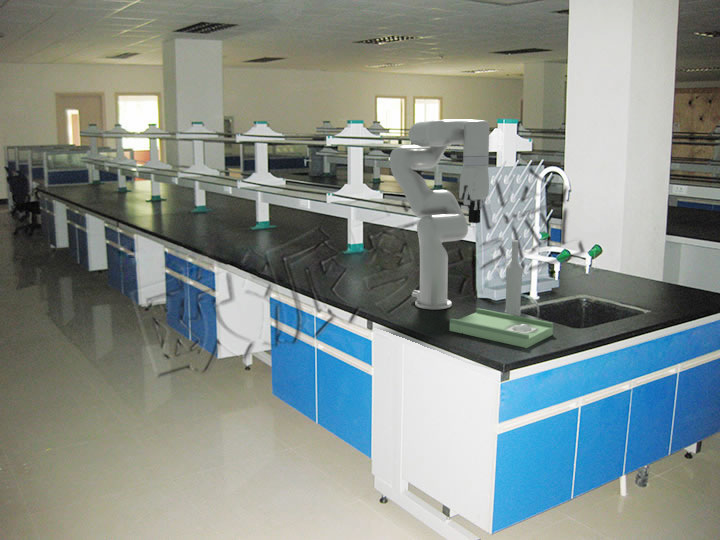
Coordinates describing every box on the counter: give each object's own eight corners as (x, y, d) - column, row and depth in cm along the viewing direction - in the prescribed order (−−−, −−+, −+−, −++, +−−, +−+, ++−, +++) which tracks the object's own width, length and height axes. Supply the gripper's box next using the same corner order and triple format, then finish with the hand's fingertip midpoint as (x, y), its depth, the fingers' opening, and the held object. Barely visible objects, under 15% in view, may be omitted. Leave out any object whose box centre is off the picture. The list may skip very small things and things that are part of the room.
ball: (517, 321, 203) (528, 328, 200) (524, 321, 206) (534, 327, 203) (511, 333, 204) (522, 340, 201) (518, 332, 207) (529, 339, 204)
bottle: (518, 314, 228) (521, 239, 223) (522, 318, 223) (525, 242, 218) (502, 314, 228) (505, 239, 223) (506, 318, 223) (509, 242, 218)
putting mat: (449, 330, 211) (449, 318, 210) (477, 319, 223) (477, 308, 222) (526, 348, 194) (527, 335, 194) (552, 334, 206) (553, 322, 205)
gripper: (478, 160, 216) (476, 218, 220) (451, 163, 205) (450, 224, 209) (499, 161, 211) (497, 220, 215) (472, 163, 200) (471, 226, 204)
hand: (474, 222), depth 212 cm, fingers closed
